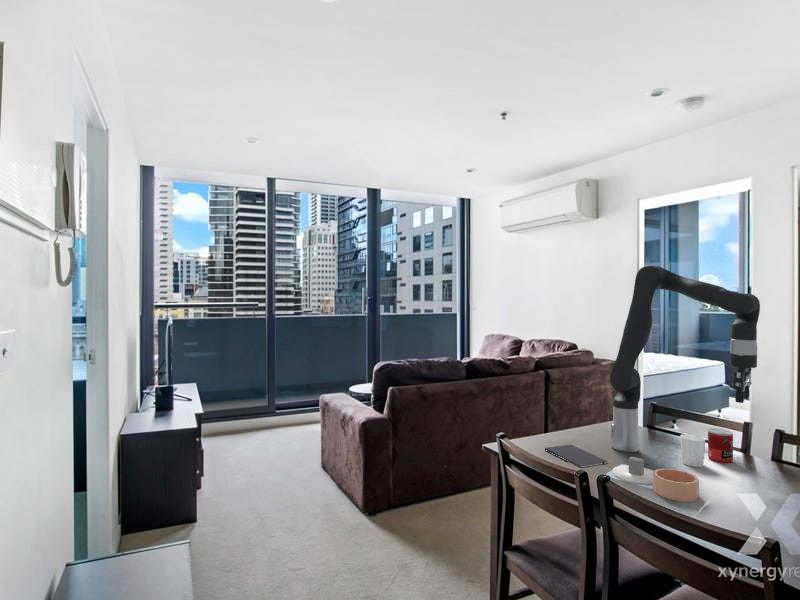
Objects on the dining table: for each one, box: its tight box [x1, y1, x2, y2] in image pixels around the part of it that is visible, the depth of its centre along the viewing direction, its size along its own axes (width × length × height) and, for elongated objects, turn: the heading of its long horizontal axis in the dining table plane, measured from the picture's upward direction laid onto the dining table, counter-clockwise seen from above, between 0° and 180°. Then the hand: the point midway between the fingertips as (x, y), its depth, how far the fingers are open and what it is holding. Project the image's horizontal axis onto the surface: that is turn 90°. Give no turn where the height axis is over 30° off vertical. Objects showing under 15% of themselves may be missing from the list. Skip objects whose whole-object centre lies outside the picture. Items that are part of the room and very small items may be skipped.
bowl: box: [653, 467, 700, 502], centre depth 149 cm, size 12×12×6 cm
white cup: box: [680, 433, 706, 468], centre depth 175 cm, size 8×8×10 cm
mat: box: [605, 463, 654, 490], centre depth 163 cm, size 16×16×1 cm
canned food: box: [707, 427, 734, 464], centre depth 179 cm, size 8×8×11 cm
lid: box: [612, 456, 655, 484], centre depth 163 cm, size 15×15×6 cm
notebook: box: [544, 444, 608, 468], centre depth 184 cm, size 13×2×21 cm
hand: (742, 400), depth 160 cm, fingers open, 8 cm apart
